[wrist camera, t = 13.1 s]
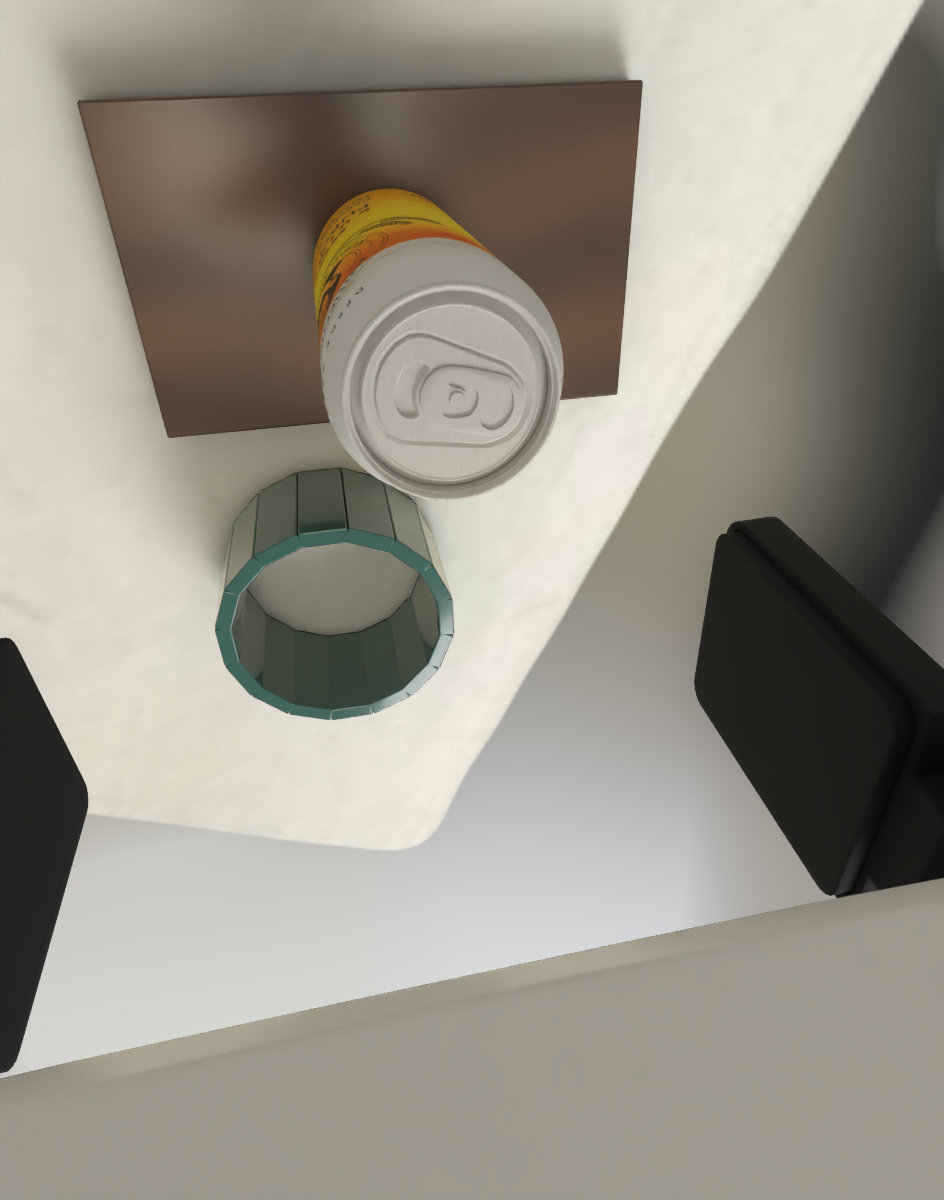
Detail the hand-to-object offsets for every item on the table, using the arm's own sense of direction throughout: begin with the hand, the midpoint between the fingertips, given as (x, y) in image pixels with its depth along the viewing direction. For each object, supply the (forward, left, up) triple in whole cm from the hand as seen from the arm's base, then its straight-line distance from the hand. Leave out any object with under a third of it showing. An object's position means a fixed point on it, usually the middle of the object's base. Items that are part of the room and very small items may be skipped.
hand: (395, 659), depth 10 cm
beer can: (0, +2, -24) cm, 25 cm away
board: (0, +2, -26) cm, 26 cm away
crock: (+14, -2, -26) cm, 29 cm away
